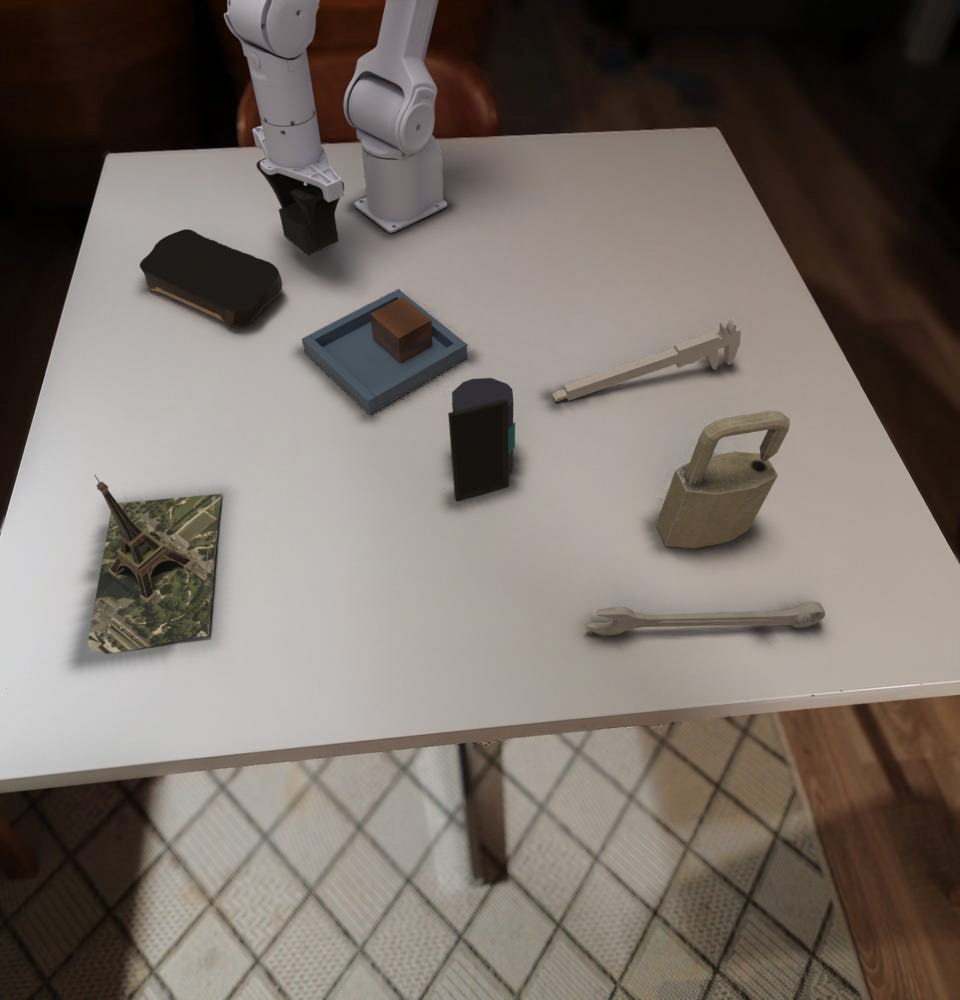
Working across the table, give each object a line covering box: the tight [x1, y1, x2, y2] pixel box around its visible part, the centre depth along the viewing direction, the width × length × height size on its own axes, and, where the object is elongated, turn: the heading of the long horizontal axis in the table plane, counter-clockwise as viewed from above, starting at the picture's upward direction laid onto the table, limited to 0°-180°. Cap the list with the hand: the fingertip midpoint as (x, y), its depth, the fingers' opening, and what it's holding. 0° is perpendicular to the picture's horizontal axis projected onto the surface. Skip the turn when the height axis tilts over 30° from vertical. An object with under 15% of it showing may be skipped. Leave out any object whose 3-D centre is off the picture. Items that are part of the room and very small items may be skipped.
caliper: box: [551, 317, 742, 402], centre depth 79 cm, size 20×1×6 cm, turn 107°
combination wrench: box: [584, 601, 826, 636], centre depth 63 cm, size 4×1×20 cm
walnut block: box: [370, 297, 433, 364], centre depth 83 cm, size 4×5×4 cm
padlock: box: [655, 410, 791, 549], centre depth 65 cm, size 4×8×15 cm, turn 103°
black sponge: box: [139, 228, 283, 329], centre depth 88 cm, size 16×8×4 cm, turn 59°
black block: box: [278, 202, 340, 257], centre depth 90 cm, size 4×5×4 cm
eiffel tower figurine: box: [87, 474, 223, 655], centre depth 62 cm, size 15×10×13 cm
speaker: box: [447, 377, 516, 502], centre depth 71 cm, size 8×6×10 cm
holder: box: [301, 288, 468, 415], centre depth 83 cm, size 13×12×2 cm
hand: (309, 228), depth 90 cm, fingers closed on black block, 5 cm apart
